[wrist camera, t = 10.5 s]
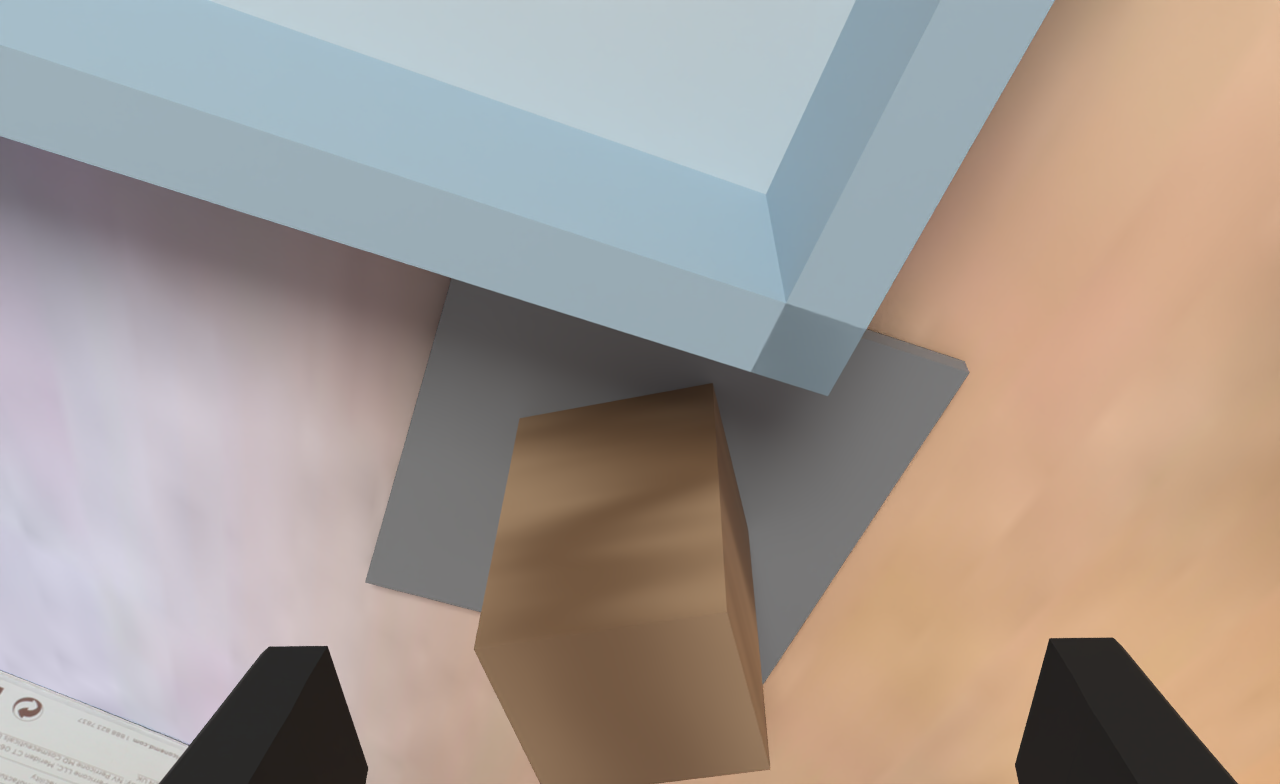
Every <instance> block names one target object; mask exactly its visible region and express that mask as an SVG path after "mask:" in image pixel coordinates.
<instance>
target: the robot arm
mask: <svg viewBox="0 0 1280 784" xmlns="http://www.w3.org/2000/svg"><path fill="white" fill-rule="evenodd" d="M1015 767H1016V772H1017V777H1018V782H1019V784H1238V783H1237V782H1236V781H1235V780H1234V779H1233V777H1232V776H1231V775H1230V774H1229V773H1228V772H1227V771H1226V769H1225V768H1224V767H1223V766H1222V765H1221V764H1220V762H1219V761H1218V760H1217V759H1216V758H1215V757H1214V755H1213V754H1212V753H1211V752H1210V751H1209V750H1208V748H1207V747H1206V746H1205V745H1204V744H1203V743H1202V741H1201V740H1200V739H1199V738H1198V737H1197V736H1196V734H1195V733H1194V732H1193V731H1192V730H1191V729H1190V727H1189V726H1188V725H1187V724H1186V723H1185V721H1184V720H1183V719H1182V718H1181V717H1180V715H1179V714H1178V713H1177V712H1176V711H1175V709H1174V708H1173V707H1172V706H1171V705H1170V704H1169V702H1168V701H1167V700H1166V699H1165V697H1164V696H1163V695H1162V694H1161V693H1160V691H1159V690H1158V689H1157V688H1156V687H1155V685H1154V684H1153V683H1152V682H1151V681H1150V679H1149V678H1148V677H1147V676H1146V675H1145V673H1144V672H1143V671H1142V670H1141V669H1140V667H1139V666H1138V665H1137V664H1136V662H1135V661H1134V660H1133V659H1132V658H1131V656H1130V655H1129V654H1128V653H1127V652H1126V650H1125V649H1124V648H1123V647H1122V646H1121V645H1120V644H1119V643H1118V642H1117V641H1116V640H1115V639H1114V638H1050V639H1049V642H1048V646H1047V650H1046V653H1045V657H1044V661H1043V664H1042V668H1041V672H1040V675H1039V679H1038V683H1037V686H1036V690H1035V694H1034V697H1033V701H1032V705H1031V708H1030V712H1029V716H1028V719H1027V723H1026V727H1025V730H1024V734H1023V738H1022V741H1021V745H1020V749H1019V752H1018V756H1017V760H1016V763H1015ZM367 772H368V766H367V763H366V760H365V757H364V754H363V751H362V748H361V745H360V742H359V739H358V736H357V733H356V730H355V727H354V724H353V721H352V718H351V715H350V712H349V709H348V706H347V703H346V700H345V697H344V694H343V691H342V688H341V685H340V682H339V679H338V676H337V673H336V670H335V667H334V664H333V661H332V658H331V655H330V652H329V649H328V646H290V647H268V648H267V649H266V650H265V651H264V652H263V653H262V654H261V655H260V656H259V657H258V659H257V660H256V661H255V663H254V664H253V665H252V666H251V668H250V669H249V670H248V671H247V673H246V674H245V675H244V677H243V678H242V679H241V680H240V682H239V683H238V684H237V686H236V687H235V688H234V689H233V691H232V692H231V693H230V694H229V696H228V697H227V698H226V700H225V701H224V702H223V703H222V705H221V706H220V707H219V709H218V710H217V711H216V712H215V714H214V715H213V716H212V718H211V719H210V720H209V721H208V723H207V724H206V725H205V726H204V728H203V729H202V730H201V731H200V733H199V734H198V735H197V737H196V738H195V739H194V740H193V742H192V743H191V744H190V745H189V747H188V748H187V749H186V750H185V752H184V753H183V754H182V755H181V757H180V758H179V759H178V760H177V762H176V763H175V764H174V765H173V767H172V768H171V769H170V770H169V771H168V773H167V774H166V775H165V776H164V778H163V779H162V780H161V781H160V782H159V784H366V778H367Z"/></svg>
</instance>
